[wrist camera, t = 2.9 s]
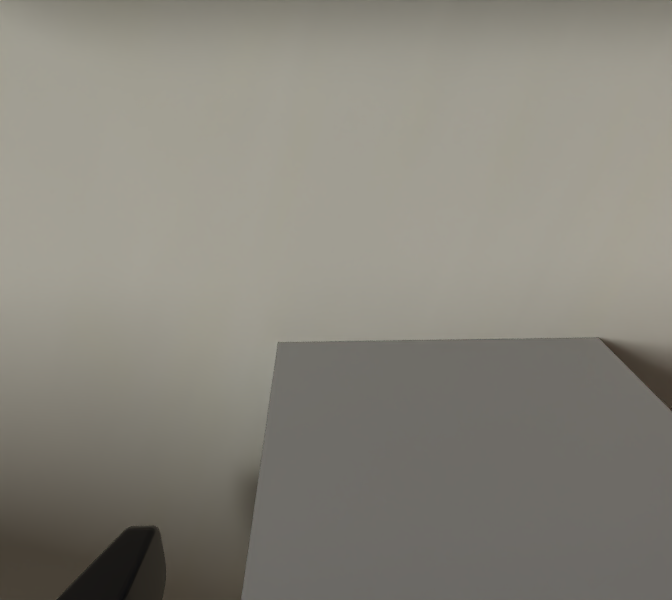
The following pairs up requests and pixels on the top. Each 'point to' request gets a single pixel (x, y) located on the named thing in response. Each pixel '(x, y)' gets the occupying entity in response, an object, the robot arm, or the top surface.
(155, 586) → the robot arm
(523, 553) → the gray block
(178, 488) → the top surface
